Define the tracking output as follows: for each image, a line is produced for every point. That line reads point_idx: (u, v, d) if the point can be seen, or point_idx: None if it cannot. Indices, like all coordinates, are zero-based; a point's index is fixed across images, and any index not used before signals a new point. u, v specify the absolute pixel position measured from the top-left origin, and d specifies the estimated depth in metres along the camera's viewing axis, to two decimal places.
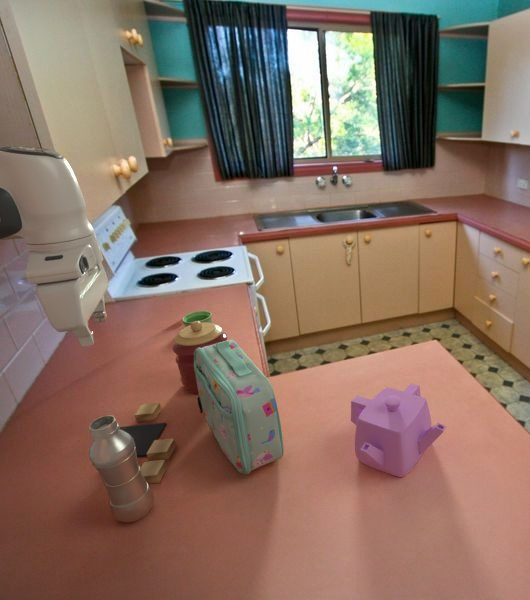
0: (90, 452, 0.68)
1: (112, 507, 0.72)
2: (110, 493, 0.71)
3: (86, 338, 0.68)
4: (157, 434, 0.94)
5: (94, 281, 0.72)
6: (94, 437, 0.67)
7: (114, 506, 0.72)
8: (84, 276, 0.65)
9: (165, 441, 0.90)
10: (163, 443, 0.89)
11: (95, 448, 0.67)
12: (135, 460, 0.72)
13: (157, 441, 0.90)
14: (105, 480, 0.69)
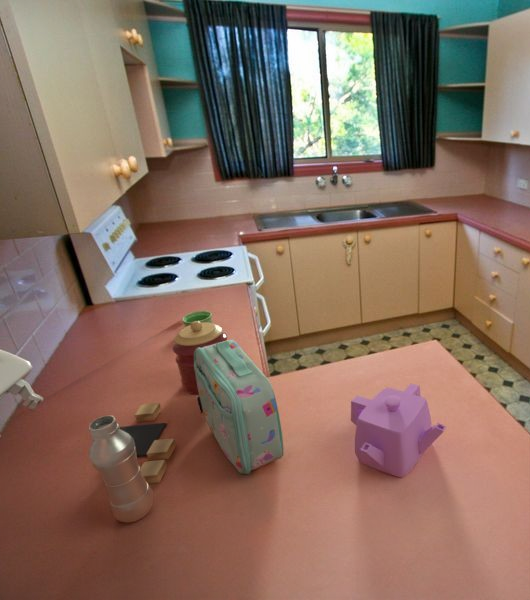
0: (90, 452, 0.68)
1: (112, 507, 0.72)
2: (110, 493, 0.71)
3: None
4: (157, 434, 0.94)
5: None
6: (94, 437, 0.67)
7: (114, 506, 0.72)
8: None
9: (165, 441, 0.90)
10: (163, 443, 0.89)
11: (95, 448, 0.67)
12: (135, 460, 0.72)
13: (157, 441, 0.90)
14: (105, 480, 0.69)
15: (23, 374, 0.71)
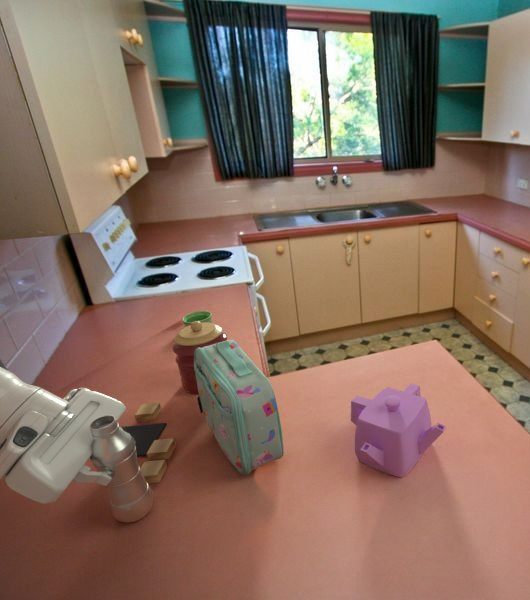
0: None
1: (112, 507, 0.72)
2: (110, 493, 0.71)
3: (100, 478, 0.67)
4: (157, 434, 0.94)
5: (84, 424, 0.70)
6: (94, 437, 0.67)
7: (114, 506, 0.72)
8: (38, 443, 0.62)
9: (165, 441, 0.90)
10: (163, 443, 0.89)
11: (95, 448, 0.67)
12: (135, 460, 0.72)
13: (157, 441, 0.90)
14: None
15: (120, 415, 0.76)
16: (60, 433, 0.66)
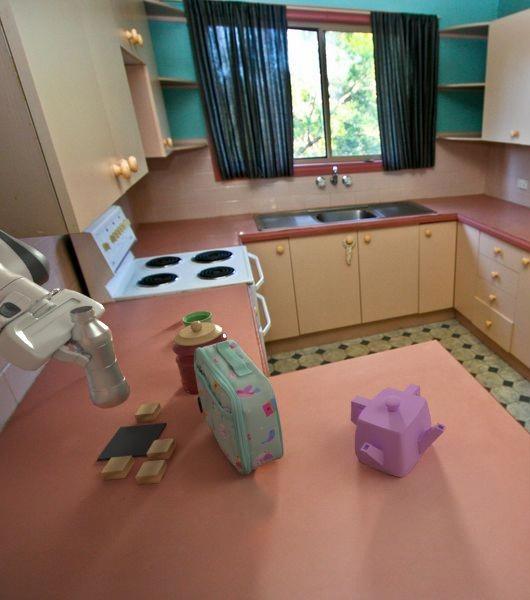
0: None
1: (91, 392, 0.79)
2: (89, 378, 0.78)
3: (78, 359, 0.74)
4: (157, 434, 0.94)
5: (65, 314, 0.77)
6: (73, 321, 0.74)
7: (92, 391, 0.79)
8: (21, 318, 0.69)
9: (165, 441, 0.90)
10: (163, 443, 0.89)
11: (74, 332, 0.74)
12: (112, 349, 0.79)
13: (157, 441, 0.90)
14: None
15: (99, 314, 0.83)
16: (42, 316, 0.73)
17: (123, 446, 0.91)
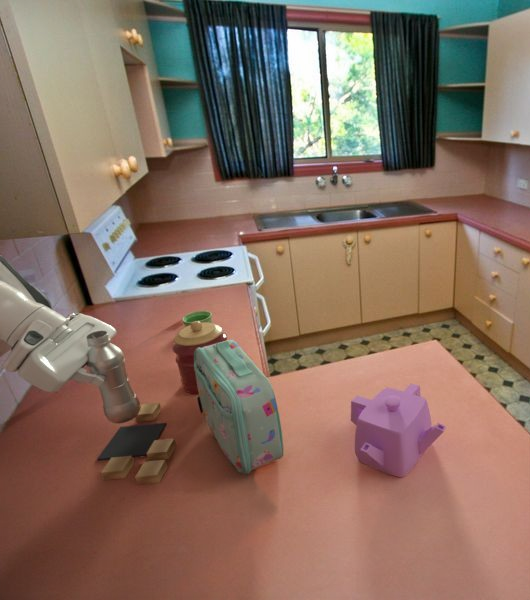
0: None
1: (105, 409, 0.86)
2: (103, 396, 0.85)
3: (95, 380, 0.81)
4: (157, 434, 0.94)
5: (81, 338, 0.84)
6: (90, 345, 0.81)
7: (106, 408, 0.86)
8: (44, 344, 0.76)
9: (165, 441, 0.90)
10: (163, 443, 0.89)
11: (90, 355, 0.82)
12: (124, 369, 0.86)
13: (157, 441, 0.90)
14: None
15: (111, 336, 0.90)
16: (61, 341, 0.80)
17: (123, 446, 0.91)
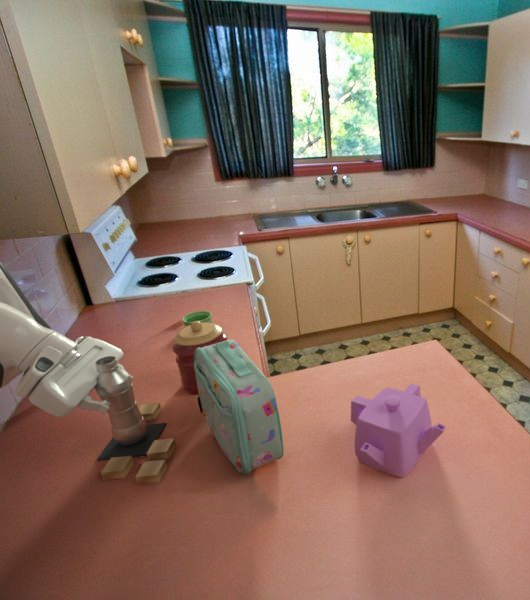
0: None
1: (113, 432, 0.89)
2: (112, 419, 0.88)
3: (100, 407, 0.82)
4: (157, 434, 0.94)
5: (90, 362, 0.86)
6: (99, 371, 0.84)
7: (115, 430, 0.88)
8: (54, 370, 0.78)
9: (165, 441, 0.90)
10: (163, 443, 0.89)
11: (99, 380, 0.84)
12: (132, 393, 0.88)
13: (157, 441, 0.90)
14: None
15: (118, 359, 0.92)
16: (71, 366, 0.83)
17: (123, 446, 0.91)
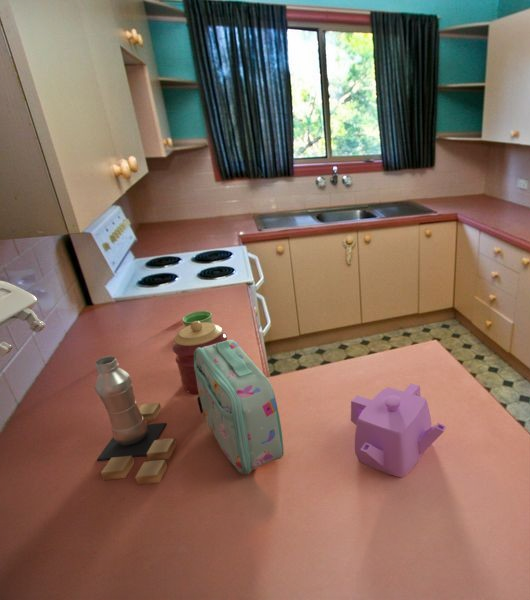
0: (96, 384, 0.85)
1: (113, 432, 0.89)
2: (112, 419, 0.88)
3: None
4: (157, 434, 0.94)
5: None
6: (99, 371, 0.84)
7: (115, 430, 0.88)
8: None
9: (165, 441, 0.90)
10: (163, 443, 0.89)
11: (99, 380, 0.84)
12: (132, 393, 0.88)
13: (157, 441, 0.90)
14: (108, 408, 0.86)
15: (29, 304, 0.85)
16: None
17: (123, 446, 0.91)
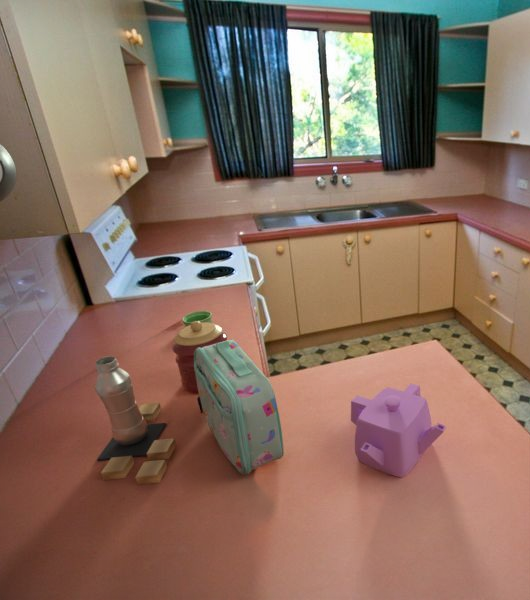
0: (96, 384, 0.85)
1: (113, 432, 0.89)
2: (112, 419, 0.88)
3: None
4: (157, 434, 0.94)
5: None
6: (99, 371, 0.84)
7: (115, 430, 0.88)
8: None
9: (165, 441, 0.90)
10: (163, 443, 0.89)
11: (99, 380, 0.84)
12: (132, 393, 0.88)
13: (157, 441, 0.90)
14: (108, 408, 0.86)
15: None
16: None
17: (123, 446, 0.91)
